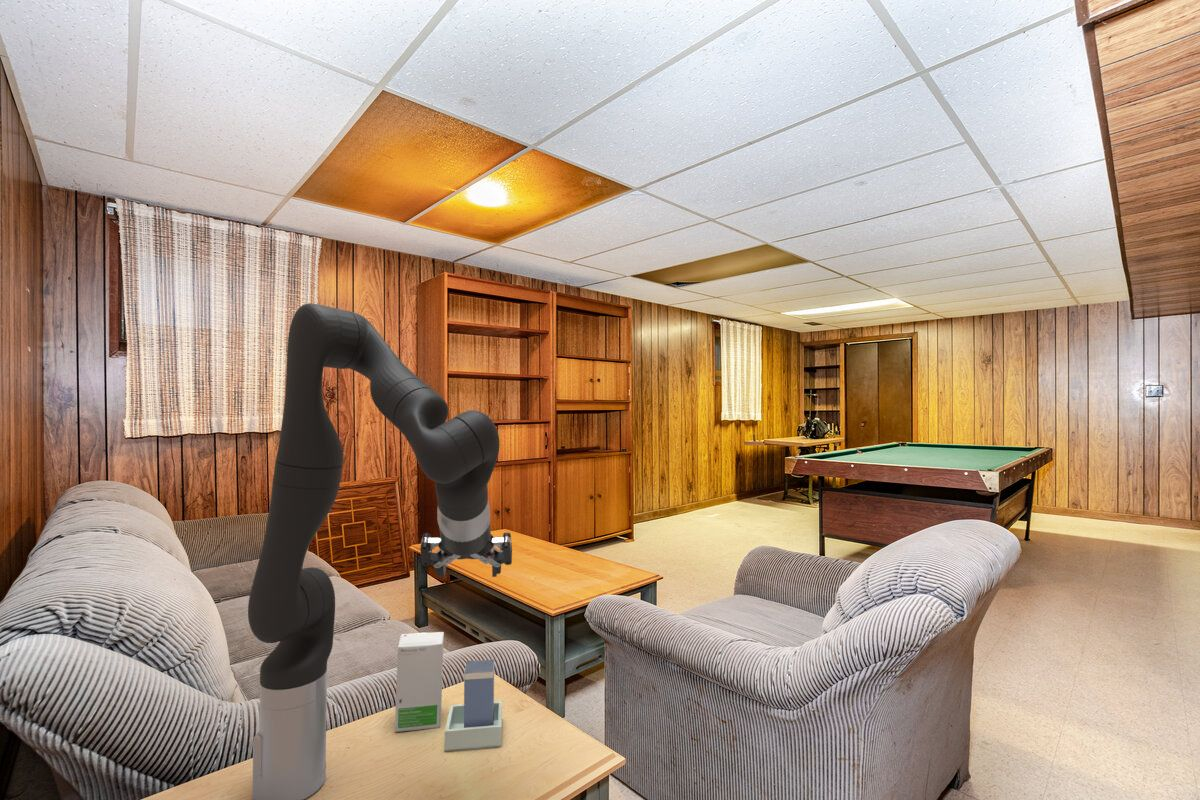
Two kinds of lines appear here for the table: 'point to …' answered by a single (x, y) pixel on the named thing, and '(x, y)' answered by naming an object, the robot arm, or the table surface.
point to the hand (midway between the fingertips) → (469, 572)
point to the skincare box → (419, 681)
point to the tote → (472, 731)
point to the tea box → (479, 693)
